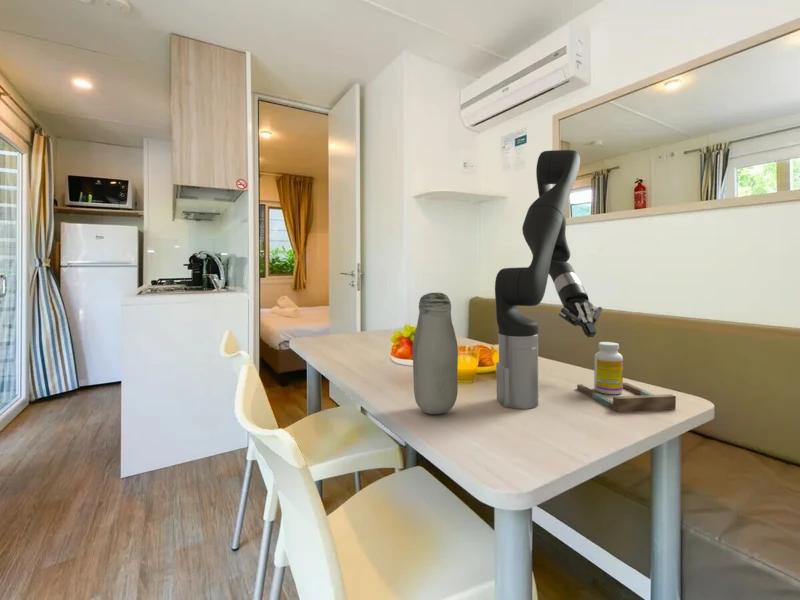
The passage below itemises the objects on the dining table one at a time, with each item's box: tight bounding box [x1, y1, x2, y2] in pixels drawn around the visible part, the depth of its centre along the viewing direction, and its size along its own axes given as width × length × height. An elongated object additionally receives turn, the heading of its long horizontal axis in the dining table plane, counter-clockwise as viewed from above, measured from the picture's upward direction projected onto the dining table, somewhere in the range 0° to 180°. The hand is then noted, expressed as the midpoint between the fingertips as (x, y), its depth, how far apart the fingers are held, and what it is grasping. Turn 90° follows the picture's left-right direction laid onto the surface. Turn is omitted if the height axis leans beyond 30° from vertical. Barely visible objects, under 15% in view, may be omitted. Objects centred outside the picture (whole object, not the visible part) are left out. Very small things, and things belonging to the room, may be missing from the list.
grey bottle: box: [412, 292, 459, 415], centre depth 88 cm, size 10×10×28 cm
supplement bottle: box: [593, 341, 624, 395], centre depth 100 cm, size 7×7×13 cm
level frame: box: [576, 382, 677, 413], centre depth 95 cm, size 14×18×3 cm
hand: (592, 335), depth 107 cm, fingers closed
